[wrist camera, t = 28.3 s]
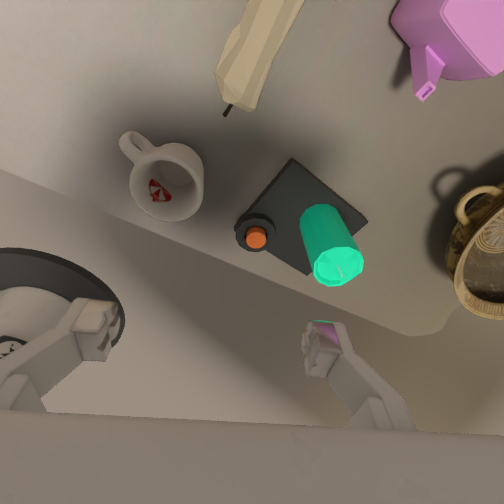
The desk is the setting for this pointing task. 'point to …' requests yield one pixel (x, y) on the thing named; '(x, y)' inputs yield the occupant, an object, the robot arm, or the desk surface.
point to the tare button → (255, 237)
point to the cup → (164, 177)
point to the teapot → (451, 40)
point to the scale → (292, 214)
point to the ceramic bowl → (479, 252)
